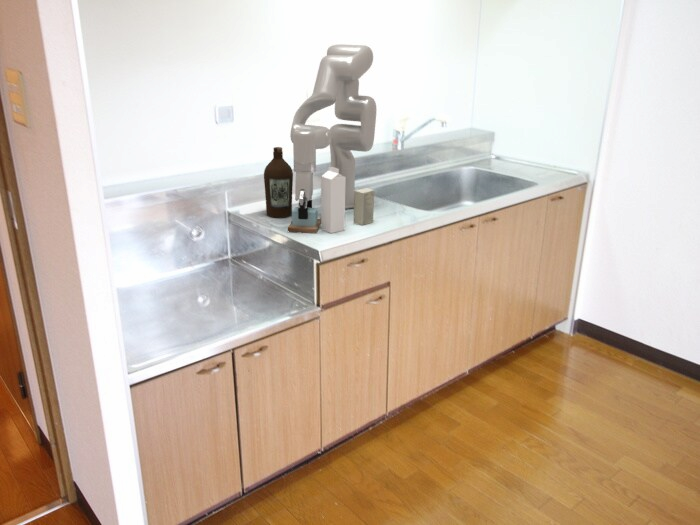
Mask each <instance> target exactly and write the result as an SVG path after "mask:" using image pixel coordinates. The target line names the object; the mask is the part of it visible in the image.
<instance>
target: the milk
mask: <svg viewBox="0 0 700 525" xmlns="http://www.w3.org/2000/svg"><path fill="white" fill-rule="evenodd" d="M320 183H321V184H320V185H321V186H320V188H321V190H320V192H321V194H320V201H321V202H320V204H321V205H320V209H321V210H320V213H321V214H320V219H321V225H320V230H322V231H324V232H327V233H329V234H334V233H339V232H343V231H345V227H346V226H345V224H346V223H345V222H346V221H345V220H346V209H345V184H346V177H344V176H342V175H341V174H339V169H337V168H334V167H331V165H330V166H329V165H328V170H327V171H326V172H324V173H323V174H322V175H321V182H320Z"/></svg>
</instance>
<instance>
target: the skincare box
mask: <svg viewBox="0 0 700 525" xmlns="http://www.w3.org/2000/svg"><path fill="white" fill-rule="evenodd" d="M374 207H375V189H373V188H372V189H371V188H368V187H363V188H360V189H355V190H354V208H353V223H354V224H357V225H360V226H365V225H368V224H371V223H373V222H374Z"/></svg>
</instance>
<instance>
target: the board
mask: <svg viewBox="0 0 700 525" xmlns="http://www.w3.org/2000/svg"><path fill="white" fill-rule="evenodd" d="M320 228H321V218H318V222H317V224H316V226H315V227H314V226H294V225H292V220H291V221H290V223H289V225H288V226H287V232H288V231H289V232H288V233H297V232H301V233H300V234H317V233H318V231H319V229H320Z"/></svg>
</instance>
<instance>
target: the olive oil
mask: <svg viewBox="0 0 700 525" xmlns="http://www.w3.org/2000/svg"><path fill="white" fill-rule="evenodd" d="M283 152H284V151H283V147H281V146H275V147H273V154H272V155H273V156H272V157H273V158H272V159H271V160H270V161H269V163H268V164H267V165H266V166H265V168H264V171H263V181H264V182H263V184H264V193H265V209H266V212H265V213H266V216H267V217H269V218H275V219H282V218H284V219H285V218H289V217H292V211H293V188H294V187H293V182H294V171H293V169H292V167H291V165H289V164H288V162H287V161H286V160H285V159H284V157H283V156H284V154H283Z"/></svg>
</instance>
